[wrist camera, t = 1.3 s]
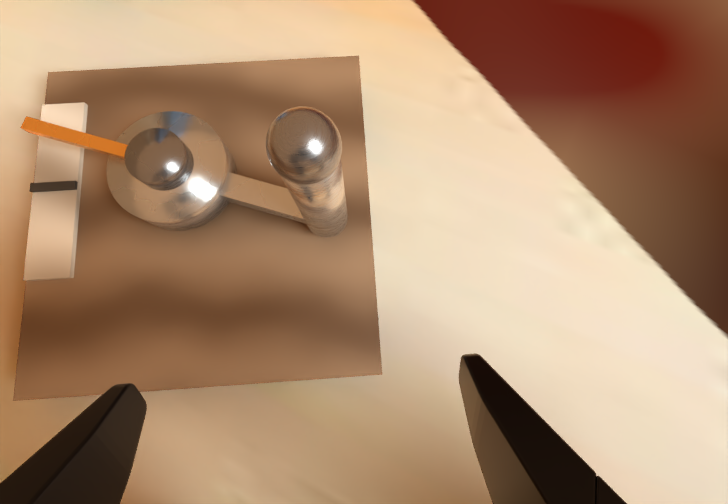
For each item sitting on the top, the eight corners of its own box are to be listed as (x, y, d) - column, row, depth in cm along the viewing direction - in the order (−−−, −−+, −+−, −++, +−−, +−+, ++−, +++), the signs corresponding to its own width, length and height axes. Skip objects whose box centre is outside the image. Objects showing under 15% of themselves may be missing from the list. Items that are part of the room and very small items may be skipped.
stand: (380, 370, 23) (382, 375, 20) (44, 393, 22) (4, 402, 20) (358, 75, 26) (358, 50, 24) (71, 91, 26) (41, 66, 23)
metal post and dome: (332, 278, 21) (306, 234, 11) (36, 192, 22) (-246, 76, 12) (364, 176, 22) (367, 51, 12) (81, 98, 23) (-139, -81, 13)
